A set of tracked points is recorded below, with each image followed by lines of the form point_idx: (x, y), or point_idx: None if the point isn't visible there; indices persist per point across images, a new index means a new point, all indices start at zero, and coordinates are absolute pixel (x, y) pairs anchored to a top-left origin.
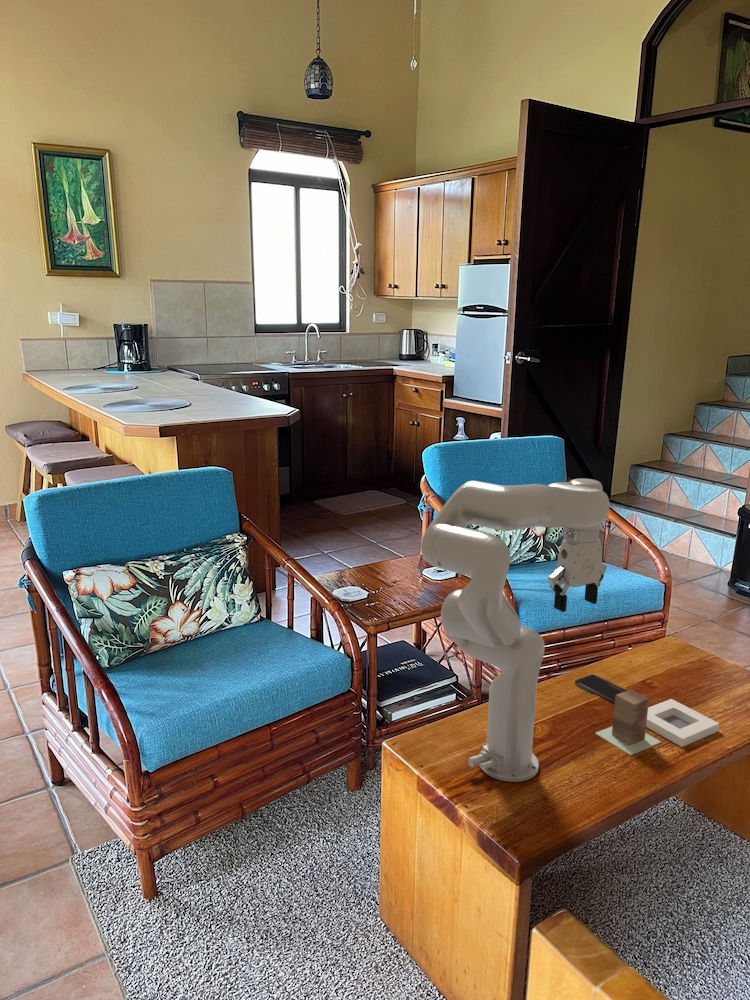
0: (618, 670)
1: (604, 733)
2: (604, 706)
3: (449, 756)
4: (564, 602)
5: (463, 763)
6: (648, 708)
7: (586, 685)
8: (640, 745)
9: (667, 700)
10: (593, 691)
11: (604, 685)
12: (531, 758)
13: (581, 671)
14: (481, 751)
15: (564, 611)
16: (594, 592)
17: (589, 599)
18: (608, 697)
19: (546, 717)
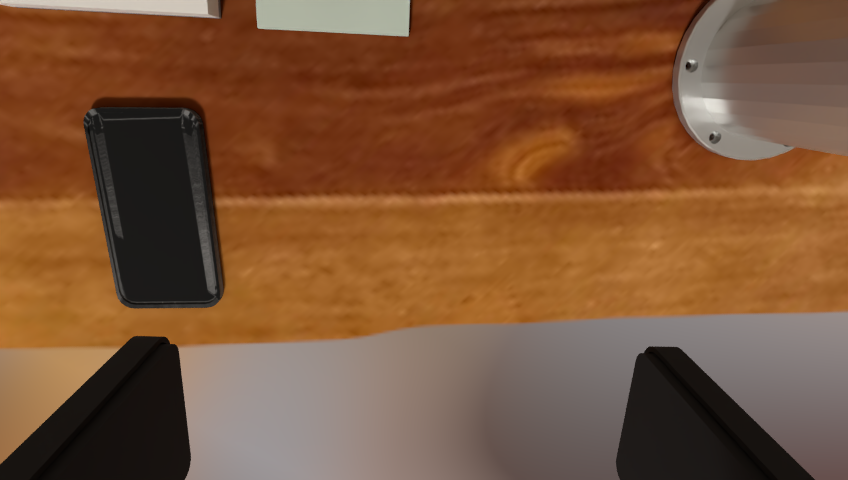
0: (7, 289)
1: (384, 14)
2: (238, 147)
3: (838, 195)
4: (747, 420)
5: None
6: (136, 4)
7: (199, 267)
8: None
9: (14, 2)
10: (209, 226)
11: (140, 236)
12: (756, 5)
13: None
14: (789, 149)
15: (665, 347)
16: (92, 449)
17: (172, 423)
18: (189, 172)
19: (457, 200)
